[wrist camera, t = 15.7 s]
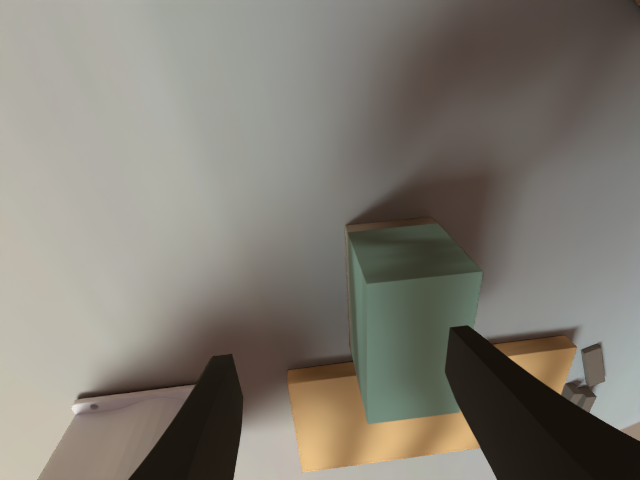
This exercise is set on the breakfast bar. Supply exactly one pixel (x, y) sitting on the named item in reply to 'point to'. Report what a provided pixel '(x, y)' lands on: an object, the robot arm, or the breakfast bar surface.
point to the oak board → (403, 435)
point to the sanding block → (406, 314)
